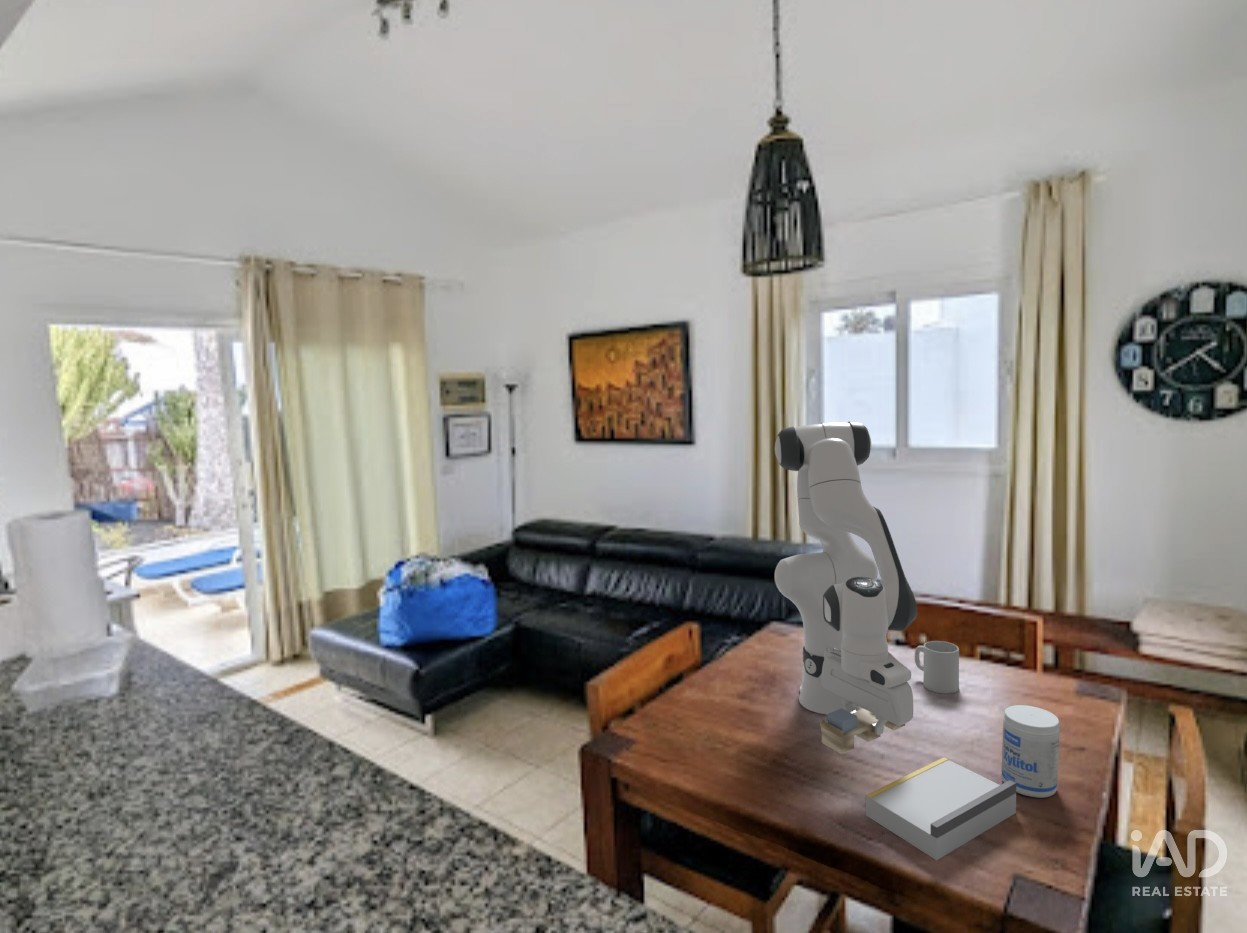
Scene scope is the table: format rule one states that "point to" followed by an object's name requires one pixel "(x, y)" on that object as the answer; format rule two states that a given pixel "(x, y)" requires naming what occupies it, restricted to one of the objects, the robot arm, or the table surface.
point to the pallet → (852, 732)
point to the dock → (941, 806)
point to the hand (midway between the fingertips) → (864, 726)
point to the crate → (842, 720)
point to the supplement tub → (1030, 750)
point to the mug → (939, 666)
